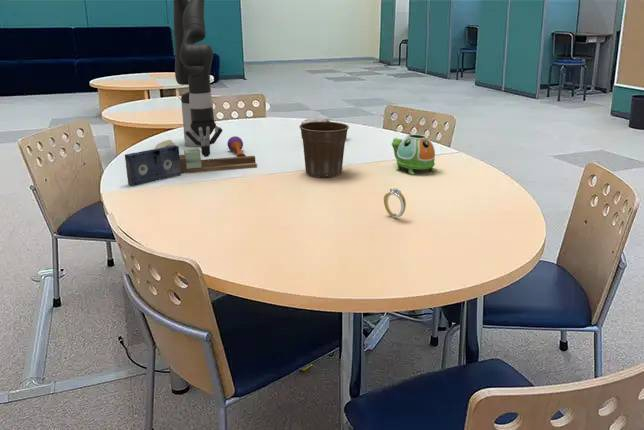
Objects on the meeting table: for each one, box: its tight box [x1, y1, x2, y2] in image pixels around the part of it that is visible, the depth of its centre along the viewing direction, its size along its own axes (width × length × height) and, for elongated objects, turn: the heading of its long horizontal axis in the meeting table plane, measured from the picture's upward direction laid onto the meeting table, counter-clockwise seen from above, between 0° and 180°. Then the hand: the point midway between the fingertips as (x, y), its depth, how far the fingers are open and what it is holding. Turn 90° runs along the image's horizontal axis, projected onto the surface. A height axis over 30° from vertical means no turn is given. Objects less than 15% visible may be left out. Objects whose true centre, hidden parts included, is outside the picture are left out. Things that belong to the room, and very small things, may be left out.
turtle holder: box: [391, 133, 436, 176], centre depth 203 cm, size 12×18×12 cm
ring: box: [383, 188, 407, 219], centre depth 157 cm, size 7×3×8 cm, turn 34°
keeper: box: [183, 147, 202, 169], centre depth 203 cm, size 6×5×6 cm
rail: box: [179, 154, 258, 175], centre depth 206 cm, size 6×26×5 cm, turn 108°
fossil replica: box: [154, 139, 177, 149], centre depth 212 cm, size 12×8×10 cm
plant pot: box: [299, 121, 350, 178], centre depth 198 cm, size 16×16×16 cm
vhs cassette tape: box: [124, 144, 182, 187], centre depth 192 cm, size 18×3×10 cm, turn 134°
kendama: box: [227, 135, 247, 157], centre depth 224 cm, size 6×6×20 cm
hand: (206, 156), depth 205 cm, fingers closed
